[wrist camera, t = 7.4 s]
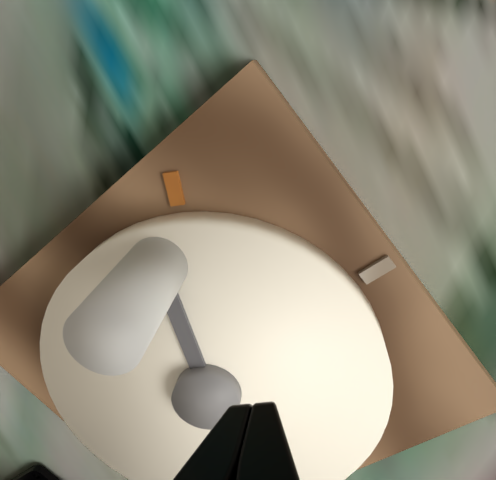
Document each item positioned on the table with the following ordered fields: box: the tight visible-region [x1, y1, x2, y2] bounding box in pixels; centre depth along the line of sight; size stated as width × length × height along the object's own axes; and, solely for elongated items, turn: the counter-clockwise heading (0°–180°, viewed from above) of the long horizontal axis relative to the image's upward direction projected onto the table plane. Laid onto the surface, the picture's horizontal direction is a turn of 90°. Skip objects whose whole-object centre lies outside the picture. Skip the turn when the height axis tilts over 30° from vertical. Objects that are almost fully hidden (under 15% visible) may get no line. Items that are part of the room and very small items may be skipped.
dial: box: [40, 211, 393, 480], centre depth 17 cm, size 16×16×7 cm
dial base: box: [0, 60, 496, 470], centre depth 21 cm, size 20×19×2 cm
